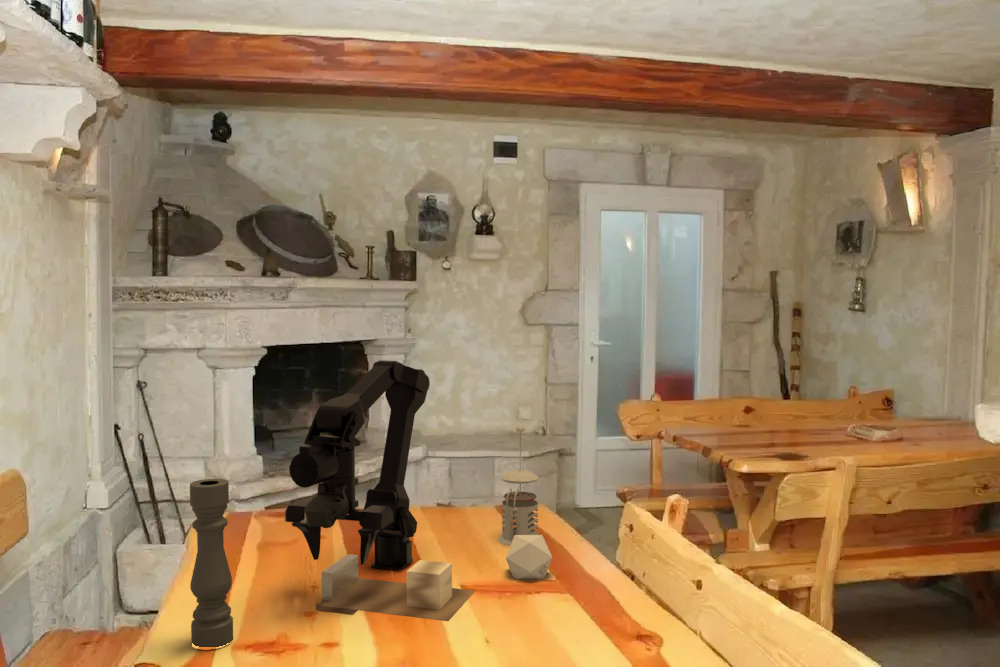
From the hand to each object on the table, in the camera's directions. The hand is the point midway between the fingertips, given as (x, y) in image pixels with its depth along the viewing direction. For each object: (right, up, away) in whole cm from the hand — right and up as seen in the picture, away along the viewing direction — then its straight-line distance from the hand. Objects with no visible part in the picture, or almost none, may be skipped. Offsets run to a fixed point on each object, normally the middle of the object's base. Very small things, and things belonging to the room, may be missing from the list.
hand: (339, 561), depth 148 cm
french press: (+33, -5, +32) cm, 46 cm away
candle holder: (-16, -8, -19) cm, 26 cm away
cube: (+16, -6, -4) cm, 18 cm away
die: (+34, -6, +9) cm, 36 cm away
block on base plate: (+11, -6, -3) cm, 13 cm away
